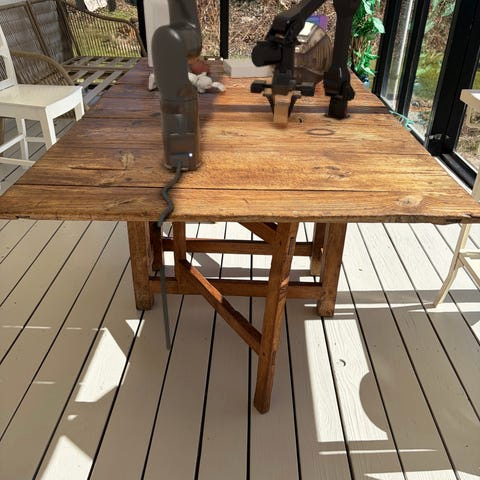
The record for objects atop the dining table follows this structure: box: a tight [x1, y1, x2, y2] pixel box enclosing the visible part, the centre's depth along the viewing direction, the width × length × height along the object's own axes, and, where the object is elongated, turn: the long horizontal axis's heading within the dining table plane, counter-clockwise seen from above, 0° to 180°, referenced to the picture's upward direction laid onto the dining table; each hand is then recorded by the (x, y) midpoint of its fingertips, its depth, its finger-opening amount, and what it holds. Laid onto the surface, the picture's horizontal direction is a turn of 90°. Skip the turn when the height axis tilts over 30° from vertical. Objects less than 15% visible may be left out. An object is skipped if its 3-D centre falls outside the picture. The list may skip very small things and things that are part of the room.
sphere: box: [270, 21, 334, 86], centre depth 185 cm, size 25×25×25 cm
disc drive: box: [222, 58, 273, 79], centre depth 214 cm, size 18×22×5 cm
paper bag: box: [143, 0, 169, 68], centre depth 223 cm, size 19×15×28 cm
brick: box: [273, 101, 290, 124], centre depth 144 cm, size 5×4×5 cm
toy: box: [148, 71, 227, 94], centre depth 184 cm, size 24×25×7 cm
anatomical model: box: [188, 55, 212, 76], centre depth 208 cm, size 13×9×15 cm
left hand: (97, 11), depth 126 cm, fingers open, 8 cm apart
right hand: (281, 116), depth 144 cm, fingers closed on brick, 4 cm apart
